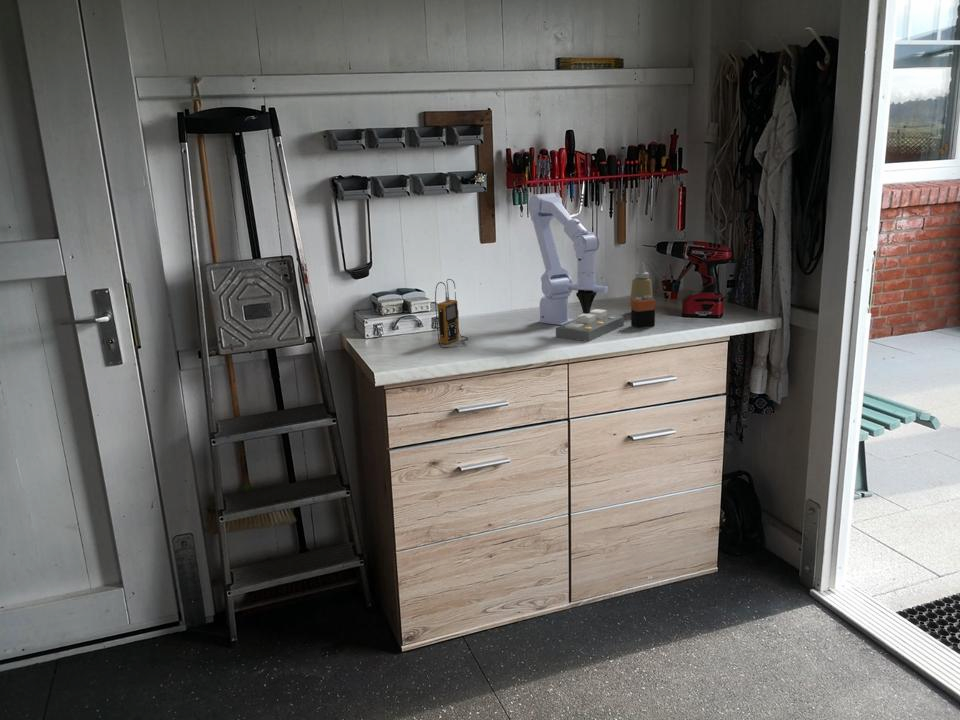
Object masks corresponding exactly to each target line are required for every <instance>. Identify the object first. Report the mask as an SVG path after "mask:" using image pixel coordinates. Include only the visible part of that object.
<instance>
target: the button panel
mask: <svg viewBox="0 0 960 720" xmlns="http://www.w3.org/2000/svg"><path fill="white" fill-rule="evenodd" d="M624 320H625V317H624V316H622V315H611V314H607V317H605V318H602V319H597V318H596V321H595V322H593V323H591V324H586V323H578V322H577V318H576V319H573V321H571V322H568V323H566V324H564V325H558V326H557V327H555V337H556V336H557V337H556V338H561V337H564V338H563V339H568V338H571V339H570V340H576V339H579V340H578V341H583V340H586V341H585V342H591V341H593V340H595V339H597V338H599V337H602V336H604V335H606V334H608V333H611V332H612V331H615V330H616V328H617V329H619V328H621V327H623V326H624V325H625V321H624ZM570 323H578V324H584V327H581V328H579V329H572V328H565V325H568V324H570ZM620 326H621V327H620ZM618 327H619V328H618ZM614 329H615V330H614ZM607 332H608V333H607ZM605 333H606V334H605ZM603 334H604V335H603ZM601 335H602V336H601ZM592 339H593V340H592ZM590 340H591V341H590Z"/></svg>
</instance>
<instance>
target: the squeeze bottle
mask: <svg viewBox="0 0 960 720" xmlns="http://www.w3.org/2000/svg"><path fill="white" fill-rule="evenodd" d="M634 275H635V276H634V277H635V278H633V279H632V283H631V289H630V290H631V292H630V299H629V304H630V305H631V300H632V299H636V297H641V298H645V297H644V296H651V297H650V298H652V299H654V298H653V286H652V279H650V278H649V277H650V276H649V275H650V274H649V272H647V271H646V266H645V262H643V261H642V262H640V264H639V269H638V271H637V272H635V274H634Z"/></svg>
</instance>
